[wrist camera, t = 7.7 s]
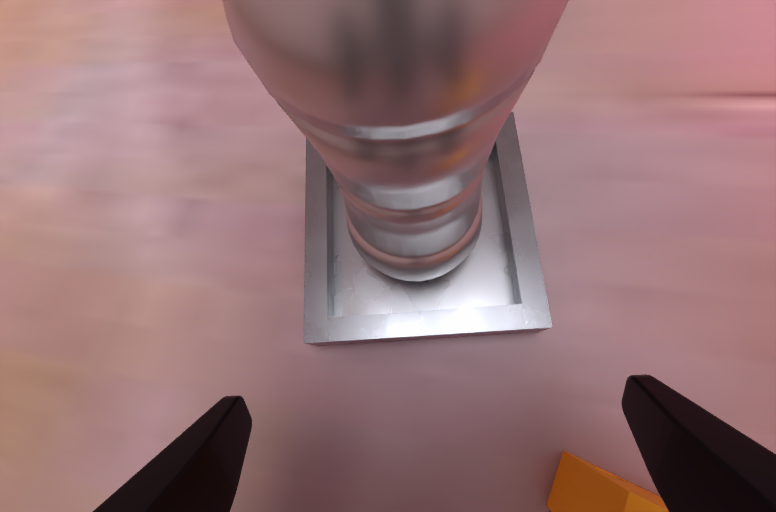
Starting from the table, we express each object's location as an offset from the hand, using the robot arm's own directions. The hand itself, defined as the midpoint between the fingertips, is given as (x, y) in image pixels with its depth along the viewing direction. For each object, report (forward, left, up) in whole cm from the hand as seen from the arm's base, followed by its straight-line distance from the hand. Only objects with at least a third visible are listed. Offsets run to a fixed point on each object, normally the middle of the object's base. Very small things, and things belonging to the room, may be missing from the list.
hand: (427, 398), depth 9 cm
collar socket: (+8, +2, -11) cm, 14 cm away
